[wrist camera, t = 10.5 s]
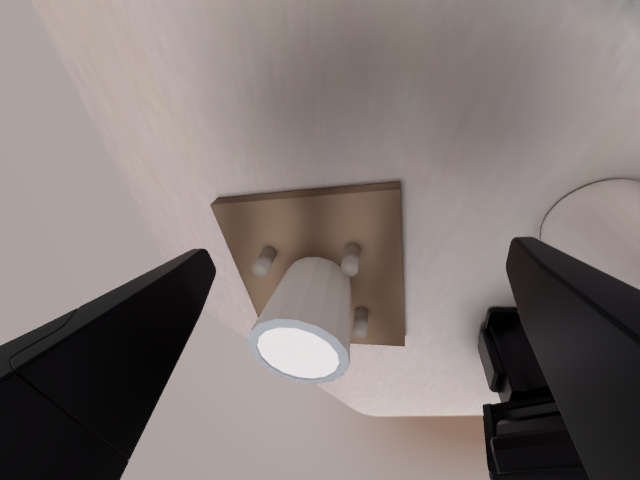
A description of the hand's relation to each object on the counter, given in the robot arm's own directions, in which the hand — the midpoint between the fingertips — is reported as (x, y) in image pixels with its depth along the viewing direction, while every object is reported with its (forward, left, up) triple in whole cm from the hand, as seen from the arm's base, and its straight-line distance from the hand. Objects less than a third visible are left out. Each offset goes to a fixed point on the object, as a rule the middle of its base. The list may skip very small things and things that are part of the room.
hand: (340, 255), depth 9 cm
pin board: (+5, +11, -12) cm, 17 cm away
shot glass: (+5, +11, -11) cm, 16 cm away
